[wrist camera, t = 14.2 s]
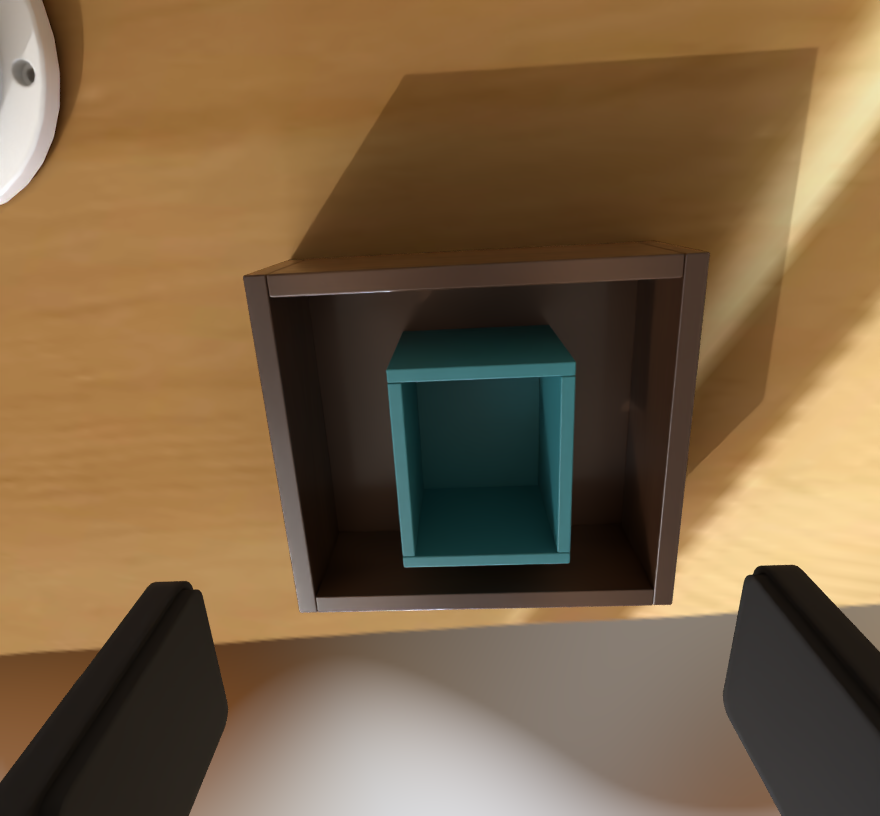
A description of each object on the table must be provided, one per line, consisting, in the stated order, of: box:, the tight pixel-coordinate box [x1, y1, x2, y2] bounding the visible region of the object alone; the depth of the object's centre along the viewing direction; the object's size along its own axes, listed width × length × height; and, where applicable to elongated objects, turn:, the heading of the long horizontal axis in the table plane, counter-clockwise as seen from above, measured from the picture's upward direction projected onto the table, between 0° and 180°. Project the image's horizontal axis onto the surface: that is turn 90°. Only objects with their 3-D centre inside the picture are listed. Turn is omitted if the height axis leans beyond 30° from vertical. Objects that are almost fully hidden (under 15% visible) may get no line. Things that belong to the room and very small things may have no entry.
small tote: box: [386, 325, 576, 567], centre depth 23 cm, size 8×6×6 cm
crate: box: [243, 241, 710, 612], centre depth 24 cm, size 16×14×6 cm
